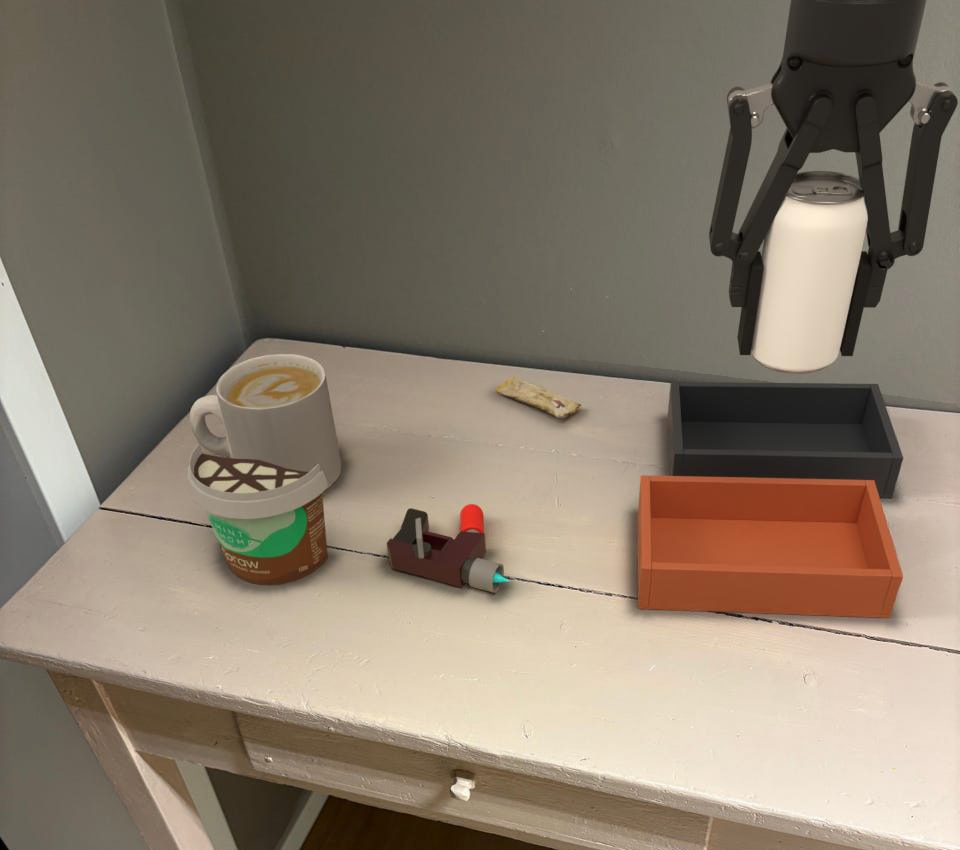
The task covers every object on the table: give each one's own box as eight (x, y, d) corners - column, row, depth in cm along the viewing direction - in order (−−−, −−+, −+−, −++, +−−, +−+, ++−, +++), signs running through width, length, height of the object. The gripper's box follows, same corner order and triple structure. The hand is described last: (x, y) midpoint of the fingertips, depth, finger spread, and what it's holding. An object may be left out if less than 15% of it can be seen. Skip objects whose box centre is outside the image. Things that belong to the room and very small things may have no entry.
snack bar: (493, 389, 105) (511, 370, 106) (497, 399, 106) (515, 380, 107) (563, 418, 100) (581, 398, 100) (566, 428, 101) (584, 408, 102)
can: (745, 332, 76) (769, 168, 68) (832, 334, 75) (868, 168, 67) (749, 375, 71) (775, 204, 63) (842, 377, 70) (881, 205, 62)
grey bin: (868, 422, 98) (878, 383, 95) (891, 498, 89) (903, 457, 86) (667, 419, 100) (670, 381, 97) (670, 493, 91) (674, 453, 88)
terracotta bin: (863, 520, 87) (874, 479, 84) (890, 618, 78) (903, 576, 75) (637, 514, 89) (640, 474, 86) (638, 608, 80) (641, 568, 77)
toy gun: (502, 605, 81) (500, 559, 78) (374, 571, 85) (367, 526, 82) (546, 537, 88) (546, 491, 84) (425, 508, 92) (420, 463, 88)
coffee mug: (356, 449, 99) (341, 358, 92) (318, 508, 92) (299, 414, 85) (235, 436, 102) (211, 346, 95) (190, 491, 95) (161, 399, 88)
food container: (184, 578, 86) (152, 483, 79) (221, 536, 90) (193, 442, 83) (311, 606, 82) (288, 509, 76) (343, 561, 87) (324, 464, 80)
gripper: (692, -5, 55) (660, 370, 71) (1062, -16, 53) (943, 374, 69) (687, -33, 61) (659, 321, 77) (1023, -45, 58) (921, 323, 74)
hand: (793, 346), depth 73 cm, fingers closed on can, 6 cm apart
